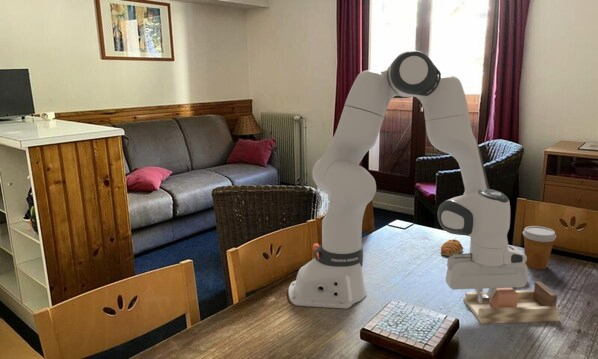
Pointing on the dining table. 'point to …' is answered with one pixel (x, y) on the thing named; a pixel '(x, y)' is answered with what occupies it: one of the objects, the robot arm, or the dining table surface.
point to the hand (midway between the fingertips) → (484, 302)
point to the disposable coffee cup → (538, 246)
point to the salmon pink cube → (504, 298)
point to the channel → (518, 307)
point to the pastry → (451, 248)
